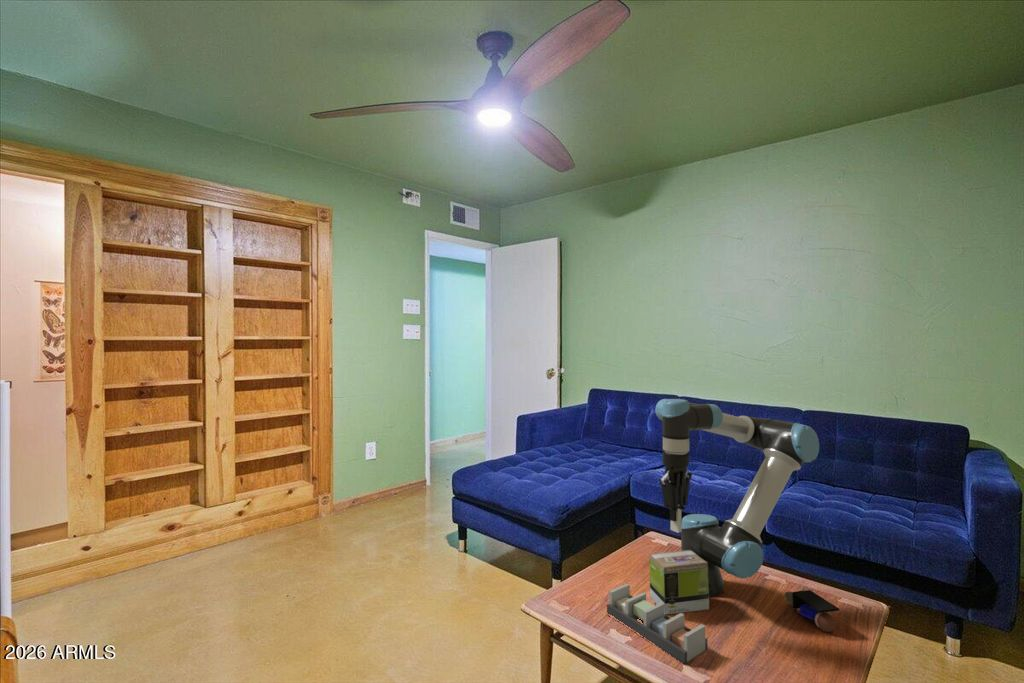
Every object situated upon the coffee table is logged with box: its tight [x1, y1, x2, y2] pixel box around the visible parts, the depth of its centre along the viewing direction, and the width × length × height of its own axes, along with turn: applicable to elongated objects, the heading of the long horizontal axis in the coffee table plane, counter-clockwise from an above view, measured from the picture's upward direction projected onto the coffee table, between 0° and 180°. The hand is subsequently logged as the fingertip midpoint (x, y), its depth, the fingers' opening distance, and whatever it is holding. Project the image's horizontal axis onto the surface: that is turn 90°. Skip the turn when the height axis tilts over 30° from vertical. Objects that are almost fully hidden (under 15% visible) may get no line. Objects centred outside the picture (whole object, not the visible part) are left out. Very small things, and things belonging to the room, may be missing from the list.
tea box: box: [649, 550, 710, 615], centre depth 148 cm, size 15×10×15 cm, turn 100°
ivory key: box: [616, 597, 630, 613], centre depth 143 cm, size 5×5×3 cm
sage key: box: [633, 600, 655, 620], centre depth 137 cm, size 5×5×3 cm
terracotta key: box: [672, 629, 687, 649], centre depth 126 cm, size 5×5×3 cm
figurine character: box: [784, 589, 840, 633], centre depth 140 cm, size 7×8×15 cm
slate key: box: [652, 617, 667, 636], centre depth 132 cm, size 5×5×3 cm
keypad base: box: [606, 583, 708, 665], centre depth 135 cm, size 10×27×7 cm, turn 35°
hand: (675, 530), depth 140 cm, fingers closed
